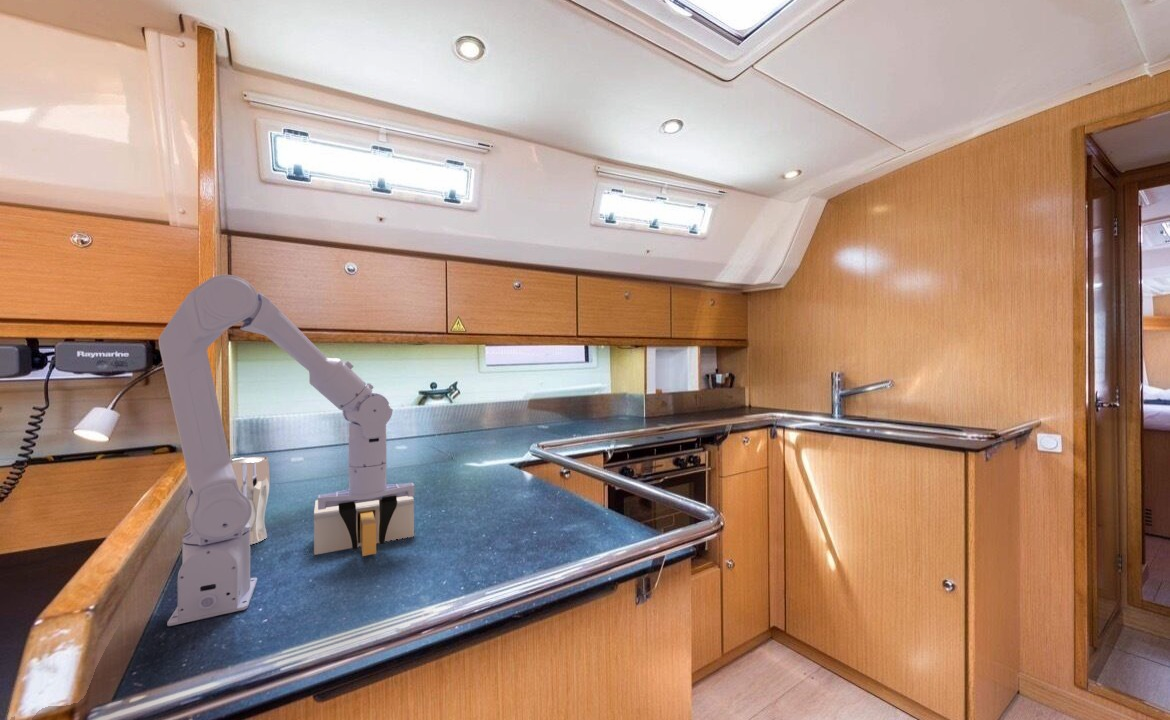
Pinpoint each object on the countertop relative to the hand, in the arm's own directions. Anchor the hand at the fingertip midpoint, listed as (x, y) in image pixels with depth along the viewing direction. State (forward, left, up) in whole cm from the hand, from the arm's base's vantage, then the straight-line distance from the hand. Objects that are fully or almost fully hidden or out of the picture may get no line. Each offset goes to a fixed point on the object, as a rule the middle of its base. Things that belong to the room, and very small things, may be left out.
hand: (368, 544), depth 76 cm
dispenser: (+10, 0, -2) cm, 10 cm away
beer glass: (+18, +19, -2) cm, 27 cm away
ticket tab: (+5, 0, -1) cm, 5 cm away
